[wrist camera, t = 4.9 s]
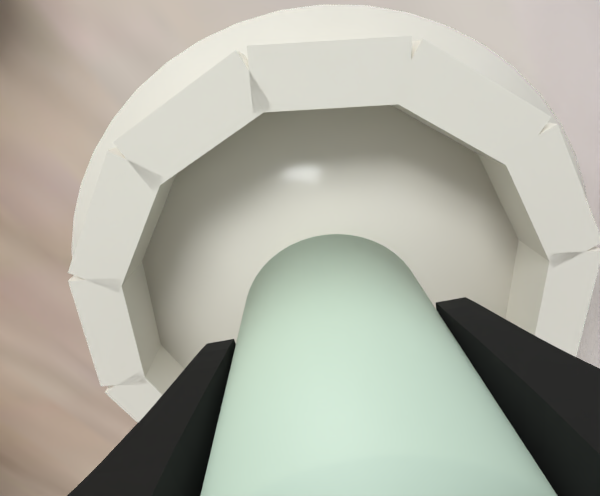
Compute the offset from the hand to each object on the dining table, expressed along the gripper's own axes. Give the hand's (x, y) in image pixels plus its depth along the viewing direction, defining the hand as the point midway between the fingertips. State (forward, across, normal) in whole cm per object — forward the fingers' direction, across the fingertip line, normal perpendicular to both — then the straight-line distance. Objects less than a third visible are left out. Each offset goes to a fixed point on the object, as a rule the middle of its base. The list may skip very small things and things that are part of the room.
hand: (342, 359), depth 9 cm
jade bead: (+2, 0, 0) cm, 2 cm away
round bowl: (+3, 0, 0) cm, 3 cm away
